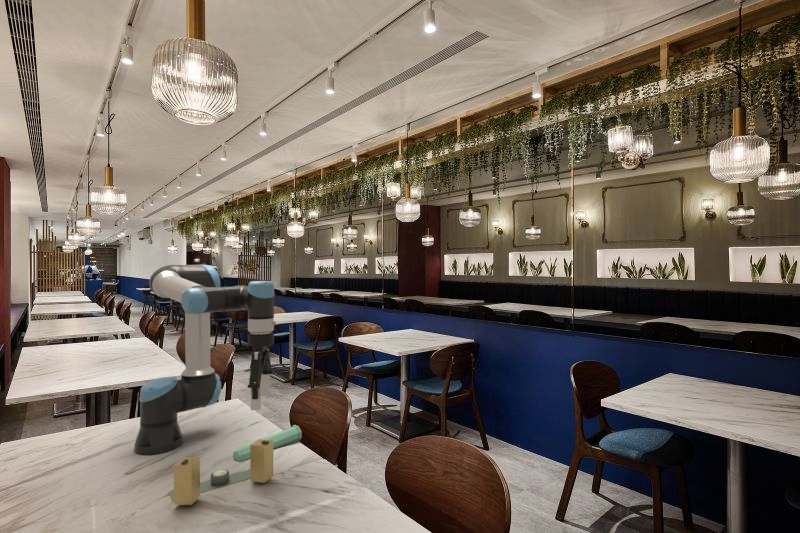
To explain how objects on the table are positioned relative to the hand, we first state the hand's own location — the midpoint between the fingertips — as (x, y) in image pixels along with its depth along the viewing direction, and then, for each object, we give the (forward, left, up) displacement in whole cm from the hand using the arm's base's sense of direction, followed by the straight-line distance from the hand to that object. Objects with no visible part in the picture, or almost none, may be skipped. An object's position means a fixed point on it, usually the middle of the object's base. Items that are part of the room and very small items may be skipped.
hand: (260, 401), depth 134 cm
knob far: (+5, -1, -22) cm, 22 cm away
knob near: (+5, -21, -22) cm, 31 cm away
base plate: (+1, -11, -23) cm, 26 cm away
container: (-18, +8, -23) cm, 30 cm away
